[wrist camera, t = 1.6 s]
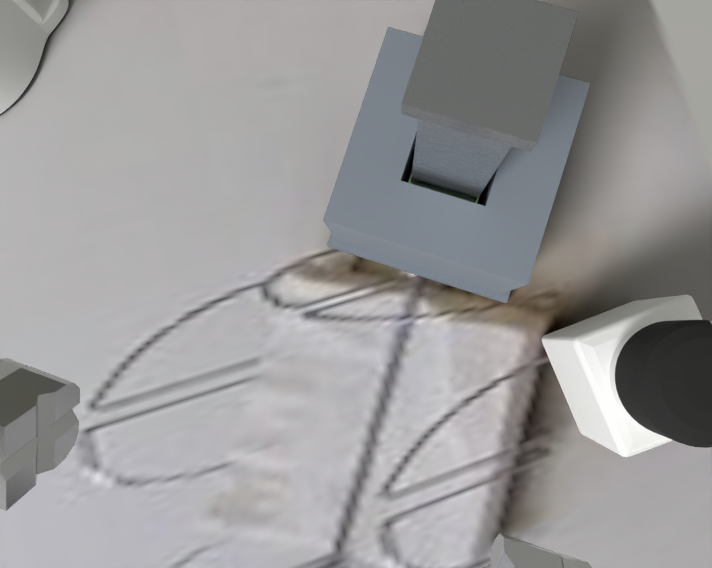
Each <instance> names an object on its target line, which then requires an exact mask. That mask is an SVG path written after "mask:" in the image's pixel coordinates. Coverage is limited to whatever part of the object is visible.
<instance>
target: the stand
mask: <svg viewBox="0 0 712 568" xmlns="http://www.w3.org/2000/svg"><path fill="white" fill-rule="evenodd" d="M422 40H423V36H419V35H416V34H412V33H409V32H405V31H401V30H398V29H394V28H391V27H388V29H387V32H386V35H385V38H384V41H383V43H382V46H381V49H380V52H379V55H378V58H377V61H376V64H375V67H374V70H373V73H372V76H371V79H370V82H369V85H368V88H367V91H366V94H365V97H364V100H363V103H362V106H361V109H360V112H359V115H358V118H357V121H356V124H355V127H354V130H353V133H352V136H351V139H350V142H349V145H348V148H347V151H346V154H345V157H344V160H343V163H342V166H341V169H340V172H339V175H338V178H337V181H336V183H335V186H334V189H333V192H332V195H331V198H330V201H329V204H328V207H327V210H326V213H325V216H324V219H323V221H324V222H325V224H326V225H327V227H328V229H329V230H330V232H331V235H330V238H329V241H328V244H327V246H328V247H330V248H333V249H337V250H340V251H343V252H346V253H349V254H352V255H355V256H358V257H362V258H365V259H368V260H371V261H374V262H377V263H380V264H384V265H387V266H390V267H393V268H396V269H399V270H402V271H406V272H409V273H412V274H415V275H418V276H421V277H424V278H428V279H431V280H434V281H437V282H440V283H443V284H446V285H449V286H453V287H456V288H459V289H462V290H465V291H468V292H471V293H475V294H478V295H481V296H484V297H487V298H490V299H493V300H497V301H500V302H503V303H507V301H508V298H509V295H510V292H511V290H514V289H517V288H519V287H522V286H525V285H528V283H529V280H530V277H531V274H532V271H533V267H534V264H535V261H536V258H537V254H538V251H539V248H540V245H541V242H542V238H543V235H544V232H545V229H546V225H547V222H548V219H549V216H550V212H551V209H552V206H553V203H554V200H555V196H556V193H557V190H558V187H559V183H560V180H561V177H562V174H563V171H564V167H565V164H566V161H567V158H568V154H569V151H570V148H571V145H572V141H573V138H574V135H575V132H576V129H577V125H578V122H579V119H580V116H581V112H582V109H583V106H584V103H585V100H586V96H587V93H588V90H589V87H590V83H588V82H585V81H581V80H578V79H574V78H571V77H567V76H563V75H560V74H559V76H558V80H557V83H556V86H555V89H554V92H553V96H552V99H551V102H550V105H549V108H548V111H547V115H546V118H545V121H544V124H543V127H542V131H541V134H540V137H539V140H538V143H537V144H536V146H535V147H534V148H533V150H532V151H531V152H529V151H526V150H522V149H519V148H515V147H512V146H511V148H510V149H509V151H508V152H507V154H506V155H505V157H504V159H503V160H502V162H501V163H500V165H499V166H498V168H497V169H496V171H495V172H494V174H493V176H492V177H491V179H490V180H489V182H488V183H487V185H486V186H485V188H484V189H483V191H482V193H481V194H480V196H479V199H478V202H477V204H476V203H473V202H470V201H466V200H463V199H460V198H457V197H453V196H450V195H447V194H443V193H440V192H437V191H433V190H430V189H427V188H424V187H420V186H417V185H414V184H410V183H408V182H409V179H410V176H411V173H412V168H413V160H414V151H415V143H416V135H417V127H418V119H416V118H413V117H409V116H406V115H402V114H401V103H402V100H403V97H404V94H405V91H406V88H407V85H408V82H409V79H410V76H411V73H412V70H413V67H414V64H415V61H416V58H417V55H418V52H419V49H420V46H421V43H422Z"/></svg>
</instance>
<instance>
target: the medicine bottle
mask: <svg viewBox="0 0 712 568" xmlns="http://www.w3.org/2000/svg"><path fill="white" fill-rule="evenodd" d="M542 343H543V345H544V348H545V350H546V353H547V355H548V357H549V360H550V362H551V364H552V367H553V369H554V371H555V374H556V376H557V379H558V381H559V383H560V386H561V388H562V390H563V393H564V395H565V397H566V400H567V402H568V405H569V407H570V409H571V412H572V414H573V416H574V419H575V421H576V423H577V426H578V428H579V431H580V432H581V434H583V435H585V436H587V437H588V438H590V439H592V440H594V441H596V442H597V443H599V444H601V445H603V446H605V447H606V448H608V449H610V450H612V451H614V452H616V453H617V454H619V455H621V456H623V457H630V456H633V455H635V454H638V453H641V452H643V451H646V450H648V449H651V448H654V447H656V446H659V445H662V444H664V443H667V442H670V441H672V440H674V441H677V442H680V443H683V444H685V445H689V446H694V447H712V321H708V320H703V319H702V317H701V315H700V312H699V310H698V308H697V306H696V304H695V301H694V299H693V298H692V297H691V296H689V295H687V294H686V295H678V296H670V297H661V298H653V299H645V300H636V301H632V302H629V303H627V304H624V305H622V306H619V307H616V308H614V309H611V310H609V311H606V312H603V313H601V314H598V315H596V316H593V317H590V318H588V319H585V320H583V321H580V322H578V323H575V324H572V325H570V326H567V327H565V328H562V329H559V330H557V331H554V332H552V333H549V334H547V335H544V336H543V337H542Z"/></svg>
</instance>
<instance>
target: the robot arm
mask: <svg viewBox="0 0 712 568" xmlns="http://www.w3.org/2000/svg"><path fill="white" fill-rule="evenodd" d="M68 5H69V1H68V0H0V114H1V113H2V112H4V111H5V110H6V109H8V108H9V107H10V106H11V105H12V104H13V103H14V102H15V101H16V100H17V99H18V98H19V97H20V96H21V94H22V93H23V92H24V91H25V89H26V88H27V86H28V85H29V83H30V82H31V80H32V78H33V76H34V74H35V72H36V70H37V68H38V65H39V62H40V59H41V56H42V52H43V49H44V46H45V43H46V40H47V38H48V36H49V35H50V33H51V32H52V31H53V30H54V29H55V27H56V26H57V25H58V23H59V22H60V21H61V19H62V18H63V16H64V15H65V13H66V11H67V9H68ZM79 403H80V388H79V387H78V386H77V385H76V384H74V383H72V382H70V381H67V380H65V379H62V378H59V377H57V376H54V375H51V374H49V373H46V372H44V371H41V370H38V369H36V368H33V367H28V366H26V365H24V364H21V363H18V362H16V361H13V360H11V359H8V358H7V359H0V509H3V510H8V509H9V508H10V507H11V506H12V505H13V504H14V503H16V502H17V501H18V500H19V499H20V498H21V497H22V496H24V495H25V494H26V493H27V492H28V491H29V490H31V489H32V488H33V487H34V486H35V485H36V479H37V474H40V473H43V472H46V471H49V470H52V469H54V468H56V467H57V466H58V465H59V464H60V463H61V462H62V461H63V460H64V459H65V458H66V457H67V455H68V454H69V452H70V451H71V449H72V447H73V446H74V444H75V441H76V438H77V435H78V428H79V421H78V419H77V417H76V416H75V414H74V412H73V410H72V409H73V408H74V407H75V406H77V405H78V404H79ZM483 568H592V567H591V566H590V565H589V563H588V562H585V561H582V560H579V559H576V558H573V557H570V556H567V555H564V554H561V553H556V552H553V551H550V550H547V549H544V548H542V547H539V546H536V545H533V544H530V543H527V542H524V541H521V540H518V539H515V538H512V537H510V536H507V535H504V534H501V533H500V534H499V535H498V536H497V537H496V539H495V541H494V543H493V545H492V547H491V564H489V565H487V566H485V567H483Z"/></svg>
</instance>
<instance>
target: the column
mask: <svg viewBox="0 0 712 568" xmlns="http://www.w3.org/2000/svg"><path fill="white" fill-rule="evenodd" d="M578 13H579V12H577V11H573V10H569V9H566V8H562V7H558V6H554V5H551V4H547V3H543V2H539V1H536V0H435V3H434V6H433V9H432V12H431V15H430V18H429V22H428V25H427V28H426V31H425V34H424V37H423V40H422V43H421V46H420V49H419V52H418V55H417V58H416V61H415V64H414V67H413V70H412V73H411V76H410V79H409V82H408V85H407V88H406V91H405V94H404V97H403V100H402V103H401V114H402V115H406V116H409V117H413V118H416V119H418V127H417V135H416V143H415V151H414V160H413V168H412V173H411V176H410V179H409V182H408V183H410V184H414V185H417V186H420V187H424V188H427V189H430V190H433V191H437V192H440V193H443V194H447V195H450V196H453V197H457V198H460V199H463V200H466V201H470V202H473V203H476V204H477V202H478V199H479V196H480V194H481V193H482V191H483V189H484V188H485V186H486V185H487V183H488V182H489V180H490V179H491V177H492V176H493V174H494V172H495V171H496V169H497V168H498V166H499V165H500V163H501V162H502V160H503V159H504V157H505V155H506V154H507V152H508V151H509V149H510V148H511V146H512V147H515V148H519V149H522V150H526V151H529V152H531V151H532V150H533V148H534V147H535V146H536V144H537V143H538V140H539V137H540V134H541V131H542V127H543V124H544V121H545V118H546V115H547V111H548V108H549V105H550V102H551V99H552V96H553V92H554V89H555V86H556V83H557V80H558V76H559V73H560V70H561V67H562V64H563V61H564V57H565V54H566V51H567V48H568V45H569V41H570V38H571V35H572V32H573V29H574V25H575V22H576V19H577V16H578Z"/></svg>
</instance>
